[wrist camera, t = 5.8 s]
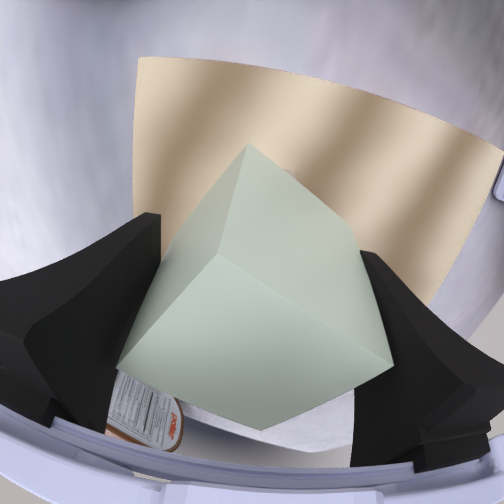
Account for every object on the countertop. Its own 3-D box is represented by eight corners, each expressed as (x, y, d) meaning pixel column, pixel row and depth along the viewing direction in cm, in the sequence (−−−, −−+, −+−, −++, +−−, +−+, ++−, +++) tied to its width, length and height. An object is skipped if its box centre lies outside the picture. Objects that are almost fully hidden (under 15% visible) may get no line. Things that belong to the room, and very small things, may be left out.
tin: (70, 324, 26) (33, 396, 19) (86, 315, 25) (47, 393, 18) (174, 404, 32) (160, 469, 26) (195, 400, 31) (182, 469, 24)
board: (495, 146, 14) (504, 152, 13) (422, 297, 21) (426, 306, 20) (146, 56, 13) (138, 57, 12) (141, 250, 20) (135, 259, 19)
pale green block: (350, 226, 12) (394, 365, 7) (267, 298, 15) (260, 430, 9) (248, 142, 11) (217, 253, 5) (172, 237, 13) (115, 367, 8)
